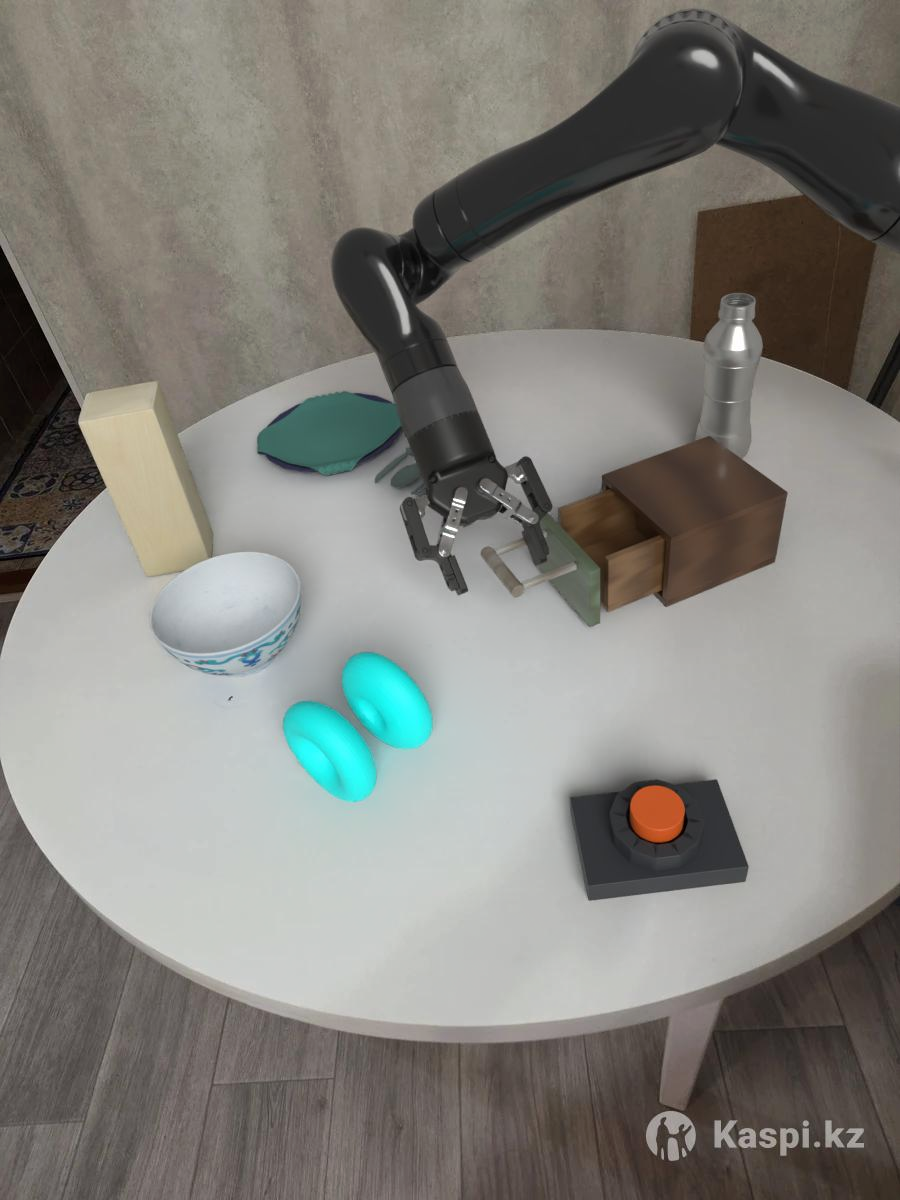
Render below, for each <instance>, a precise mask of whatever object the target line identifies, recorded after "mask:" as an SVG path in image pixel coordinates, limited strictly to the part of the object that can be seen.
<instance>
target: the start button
mask: <svg viewBox="0 0 900 1200" xmlns="http://www.w3.org/2000/svg"><path fill="white" fill-rule="evenodd" d="M684 813H685V808H684V804H683V801H682V800H681V798H680V797H679V796H678V795H677V794H676V793H675V792H674V791H672V790H671V789H669V788H666V787H663V786H656V785H653V786H647V787H644V788H642V789H640V790H639V791H637V792H636V793H635V794H634V796H633V797H632V799H631V803H630V823H631V826H632V828H633V830H634V831H635V832H636V833H637V834H638V835H639V836H640V837H642V838H643V839H645V840H647V841H650V842H655V843H663V842H668V841H670V840H672V839H674V838H675V837H677V836H678V835H679V834H680V832H681V830H682V828H683V822H684Z"/></svg>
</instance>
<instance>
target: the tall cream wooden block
mask: <svg viewBox="0 0 900 1200" xmlns="http://www.w3.org/2000/svg"><path fill="white" fill-rule="evenodd" d="M161 387H162V386H161V385H160V383H159V381H158V380H153V381H148V382H147V381H146V382H142V383H141V382H140V383H136V384H130V385H124V386H120V387H114V388H108V389H103V390H96V391H91V392H87V393H86V395H85V397H84V401H83V403H82V406H81V410H80V413H79V416H78V422H77V423H78V426H79V429H80V431H81V433H82V435H83V437H84V440H85V442H86V444H87V446H88V449H89V452H90V453H91V456H92V458H93V460H94V462H95V465H96V467H97V469H98V471H99V473H100V477H101V479H102V480H103V482H104V485H105V487H106V490H107V491H108V494H109V496H110V498H111V500H112V503H113V505H114V507H115V509H116V512H117V515H118V516H119V519H120V521H121V523H122V526H123V527H124V530H125V532H126V535H127V537H128V539H129V541H130V544H131V546H132V549H133V550H134V553H135V555H136V557H137V559H138V562H139V564H140V566H141V568H142V570H143V573H144V575H145V576H146V577H147V578H148V577H149V578H150V577H155V576H156V577H157V576H162V575H166V574H173V573H178V572H183V571H184V570H186V569H188V568H189V567H191V566H193V565H195V564H197V563H199V562H202V561H204V560H207V559H210V558H212V557H213V546H214V532H213V529H212V525H211V523H210V520H209V518H208V514H207V512H206V508H205V506H204V503H203V501H202V498H201V495H200V493H199V490H198V487H197V484H196V482H195V478H194V476H193V472H192V470H191V468H190V465H189V462H188V459H187V456H186V453H185V451H184V448H183V446H182V442H181V440H180V437H179V434H178V431H177V428H176V426H175V423H174V421H173V418H172V415H171V411H170V409H169V406H168V404H167V401H166V398H165V396H164V393H163V390H162V388H161Z"/></svg>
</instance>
